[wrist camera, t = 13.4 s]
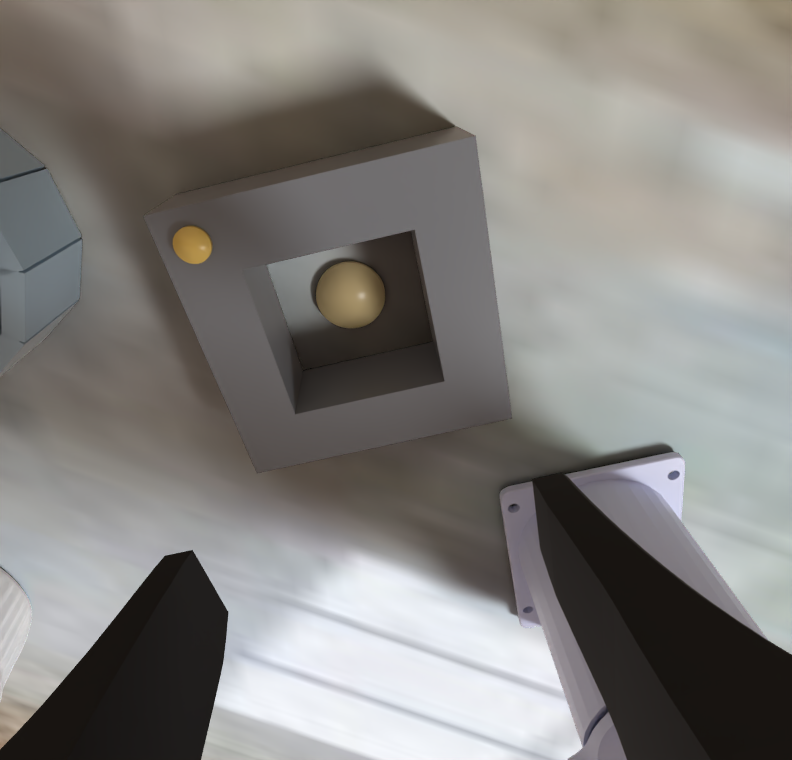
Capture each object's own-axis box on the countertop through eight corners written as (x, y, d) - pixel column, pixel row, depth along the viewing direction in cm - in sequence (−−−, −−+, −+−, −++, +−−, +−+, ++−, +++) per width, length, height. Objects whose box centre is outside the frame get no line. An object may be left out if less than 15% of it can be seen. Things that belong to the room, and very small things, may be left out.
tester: (492, 375, 21) (513, 421, 18) (269, 424, 21) (256, 476, 19) (456, 126, 17) (477, 136, 14) (175, 194, 17) (140, 217, 14)
